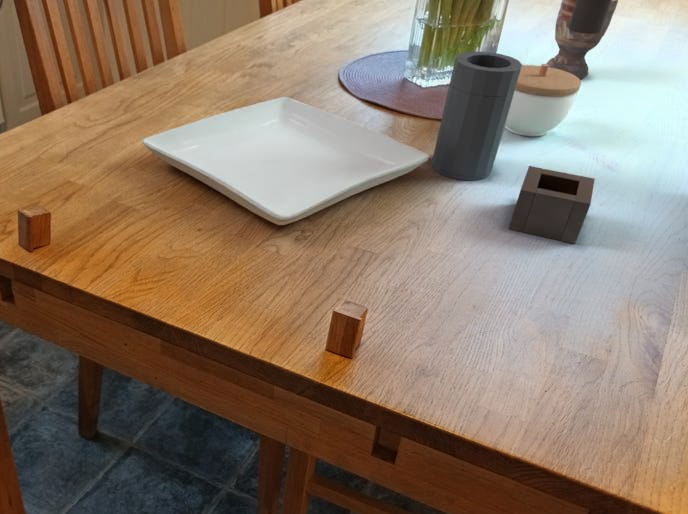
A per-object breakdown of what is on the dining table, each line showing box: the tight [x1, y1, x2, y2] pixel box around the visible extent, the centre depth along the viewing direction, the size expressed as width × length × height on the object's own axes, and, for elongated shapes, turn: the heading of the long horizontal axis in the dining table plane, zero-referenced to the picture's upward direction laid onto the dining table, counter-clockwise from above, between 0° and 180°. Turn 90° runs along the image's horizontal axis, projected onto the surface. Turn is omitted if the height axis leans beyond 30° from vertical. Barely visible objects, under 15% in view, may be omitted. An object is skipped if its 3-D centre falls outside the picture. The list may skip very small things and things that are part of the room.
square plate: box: [141, 96, 430, 226], centre depth 94 cm, size 27×27×4 cm
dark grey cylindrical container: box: [431, 51, 523, 181], centre depth 93 cm, size 8×8×14 cm
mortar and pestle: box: [545, 0, 619, 80], centre depth 124 cm, size 12×9×20 cm
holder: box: [507, 165, 596, 245], centre depth 84 cm, size 7×7×5 cm
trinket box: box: [504, 63, 582, 138], centre depth 106 cm, size 11×11×9 cm
